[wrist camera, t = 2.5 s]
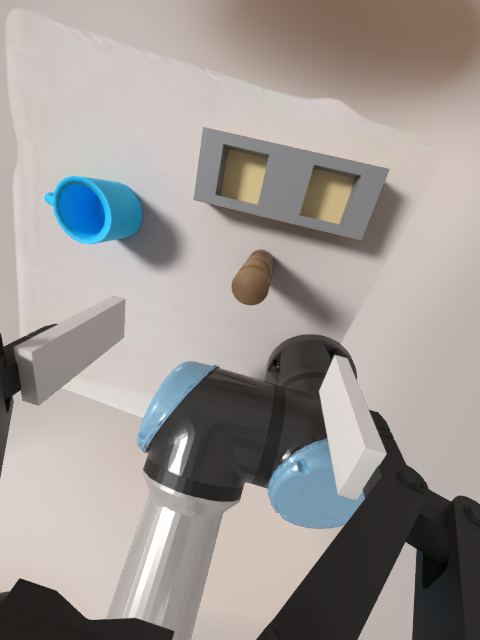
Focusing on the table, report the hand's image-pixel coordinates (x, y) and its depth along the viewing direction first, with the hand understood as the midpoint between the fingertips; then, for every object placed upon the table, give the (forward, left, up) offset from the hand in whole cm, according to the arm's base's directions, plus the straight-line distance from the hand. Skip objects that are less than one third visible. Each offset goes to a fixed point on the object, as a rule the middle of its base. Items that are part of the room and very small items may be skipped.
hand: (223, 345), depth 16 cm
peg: (0, 0, -27) cm, 27 cm away
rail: (+9, -6, -27) cm, 29 cm away
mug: (+15, +21, -28) cm, 38 cm away
